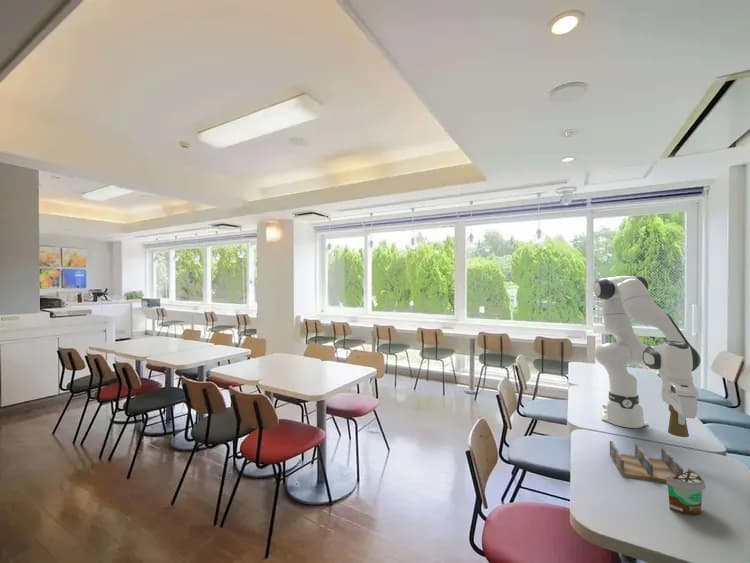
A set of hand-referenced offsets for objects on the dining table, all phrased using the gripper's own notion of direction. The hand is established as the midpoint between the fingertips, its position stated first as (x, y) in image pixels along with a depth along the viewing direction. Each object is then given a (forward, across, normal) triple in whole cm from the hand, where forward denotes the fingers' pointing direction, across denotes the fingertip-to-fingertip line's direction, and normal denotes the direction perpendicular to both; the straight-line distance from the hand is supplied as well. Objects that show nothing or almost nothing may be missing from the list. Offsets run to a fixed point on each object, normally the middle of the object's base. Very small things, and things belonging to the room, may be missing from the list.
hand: (677, 420), depth 131 cm
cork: (+5, 0, 0) cm, 5 cm away
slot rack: (+16, +11, -14) cm, 23 cm away
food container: (+15, +34, -9) cm, 38 cm away
